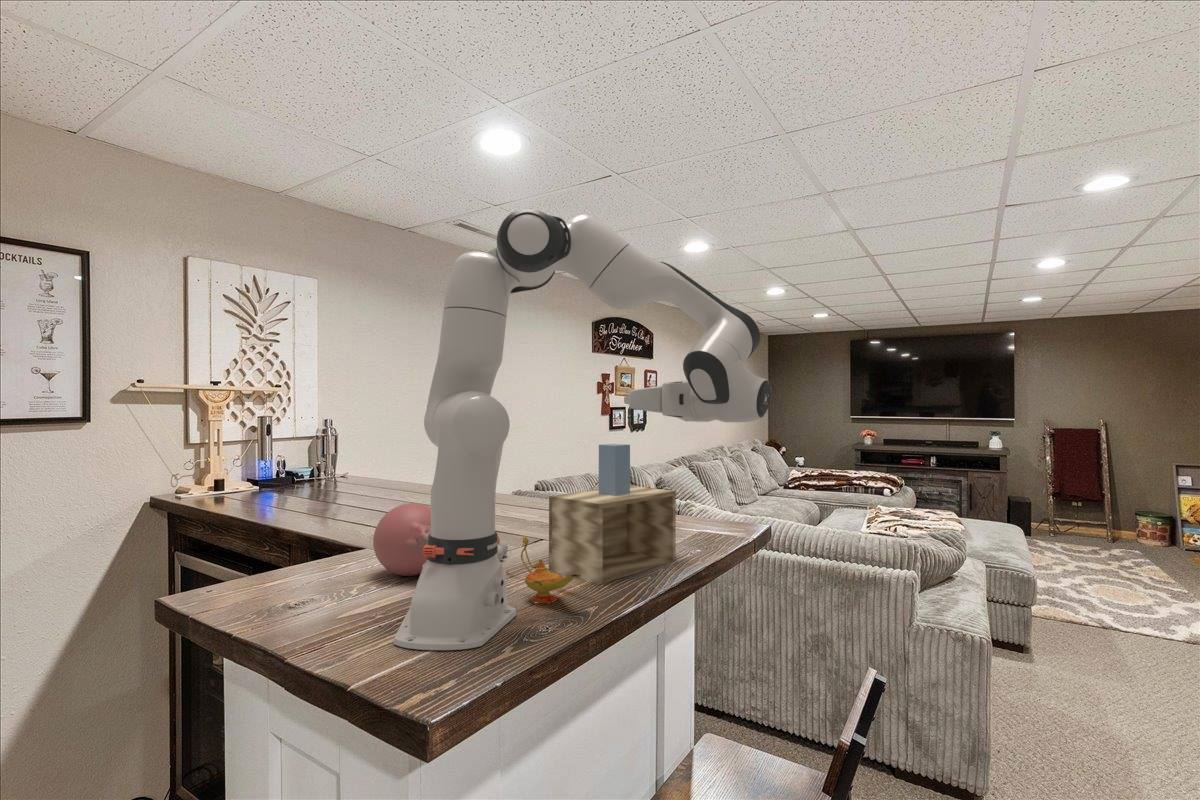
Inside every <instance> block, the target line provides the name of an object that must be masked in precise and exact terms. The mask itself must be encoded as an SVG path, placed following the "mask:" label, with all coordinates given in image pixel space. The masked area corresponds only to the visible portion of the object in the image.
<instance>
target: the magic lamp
mask: <svg viewBox="0 0 1200 800" xmlns="http://www.w3.org/2000/svg"><path fill="white" fill-rule="evenodd" d="M529 542H530V541H529V538H528V537H527V536H525V535H523V537H522V547H523V549H522V551H521V553H520V560H521V561H522V563H523V565H524V566H525V568H526V569H527V571H528V572H529V574H527V575H526V576H525V578H524V582H525V584H526V586H527V587H528V589H531V590H532V591H535V592H537V593H536V594H535V595H533V596H531V597H530V598H531V601H533V602H538V603H548V602H552V601H554V600H555V599H556V598H557V597H556V596H554V595H552V594H551V593H550V592H552V591H556V590H559V589H561V588H563V587H566V586H567V585H568V584H570V583H571V581H572V580H574V579H576V578H575V577H580V576H581V575H580V574H575V575H570V576H567V575H565V576H564V577H563V576H562V574H560V573H557V572H553V571H550V570H549V568H547V566H546V565H545V564H544V561H543V559H538V562H536V563H535V565H532V563H531V561H530V559H529V555H528V551H527V547H528V545H529ZM524 552H525V555H526V559H527V562H528V564H529V566H530V567H531V568H533V569H534V571H532V570H531V569H530V567H528V565H527V563H526V562H525V560H524V557H523V555H524ZM531 601H530V602H531ZM548 604H549V603H548Z"/></svg>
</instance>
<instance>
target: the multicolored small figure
mask: <svg viewBox="0 0 1200 800" xmlns="http://www.w3.org/2000/svg"><path fill="white" fill-rule="evenodd" d="M497 538H498V552H497V553H496V555H497V557H498V559H499V561H500V562H501V560H502V559H503V558H504V557H505V556H506V555H507V554H508V551H509V548H508V544H507V543H506V541H503V540H501V539H500V536H499V535H498V534H497ZM503 556H504V557H503Z"/></svg>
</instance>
